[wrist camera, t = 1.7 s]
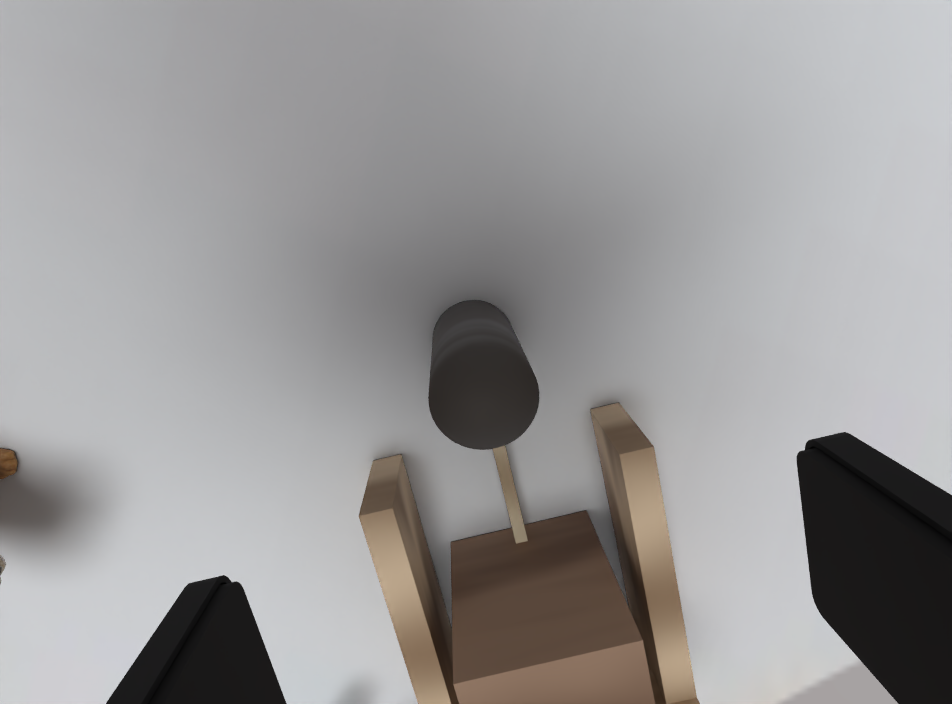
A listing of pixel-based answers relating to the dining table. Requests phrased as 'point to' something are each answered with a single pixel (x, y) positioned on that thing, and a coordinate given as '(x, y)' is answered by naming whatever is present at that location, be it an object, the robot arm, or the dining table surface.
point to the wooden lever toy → (524, 548)
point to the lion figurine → (3, 465)
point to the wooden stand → (638, 542)
